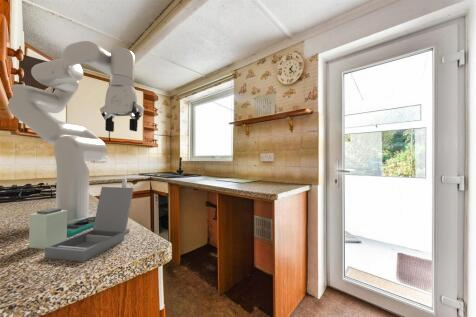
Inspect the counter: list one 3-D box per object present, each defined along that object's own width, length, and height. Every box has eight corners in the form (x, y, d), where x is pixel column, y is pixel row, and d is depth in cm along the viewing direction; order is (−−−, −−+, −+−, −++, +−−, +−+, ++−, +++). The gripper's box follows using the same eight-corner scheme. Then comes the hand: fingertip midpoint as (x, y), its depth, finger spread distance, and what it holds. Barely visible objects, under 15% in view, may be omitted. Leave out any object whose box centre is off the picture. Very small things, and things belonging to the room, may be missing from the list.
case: (44, 261, 44) (44, 247, 44) (92, 240, 56) (92, 229, 56) (83, 265, 42) (83, 251, 42) (124, 242, 54) (124, 231, 54)
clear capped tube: (116, 236, 58) (117, 179, 58) (122, 234, 60) (123, 178, 61) (123, 237, 58) (125, 179, 58) (129, 234, 60) (130, 178, 60)
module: (28, 250, 49) (29, 211, 49) (50, 242, 54) (51, 207, 54) (45, 252, 48) (46, 212, 48) (66, 244, 53) (67, 208, 53)
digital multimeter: (108, 224, 71) (108, 216, 71) (70, 241, 56) (70, 230, 56) (88, 224, 71) (88, 215, 71) (46, 240, 56) (46, 230, 56)
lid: (101, 186, 59) (104, 187, 60) (92, 229, 56) (96, 229, 57) (132, 187, 57) (134, 188, 58) (124, 231, 54) (127, 231, 55)
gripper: (92, 81, 70) (91, 129, 69) (136, 78, 67) (135, 128, 66) (109, 89, 77) (108, 132, 77) (150, 86, 74) (149, 132, 74)
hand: (121, 131), depth 71 cm, fingers open, 9 cm apart
